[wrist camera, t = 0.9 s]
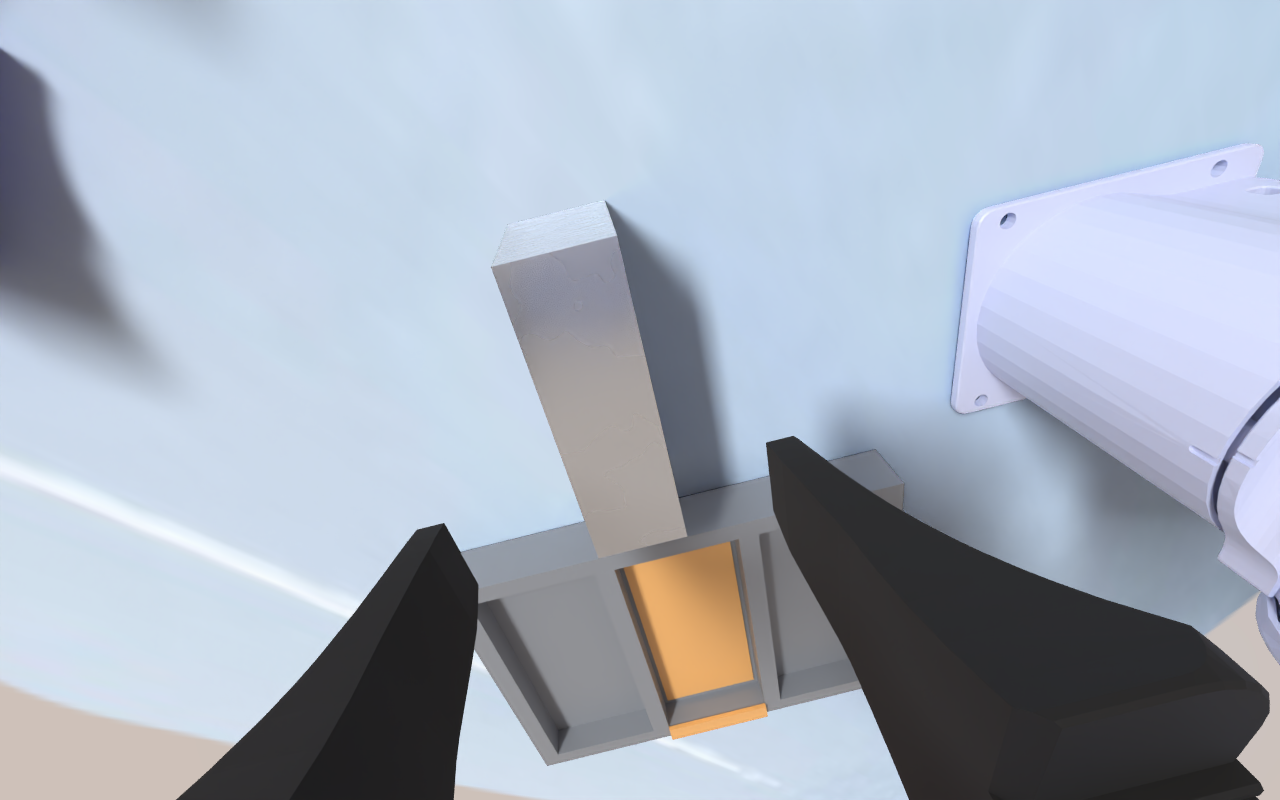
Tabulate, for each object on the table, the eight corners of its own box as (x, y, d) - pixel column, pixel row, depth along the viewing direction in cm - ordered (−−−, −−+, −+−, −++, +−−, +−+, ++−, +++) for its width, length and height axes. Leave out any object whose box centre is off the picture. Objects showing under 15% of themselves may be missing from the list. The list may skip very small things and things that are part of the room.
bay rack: (875, 449, 22) (907, 486, 20) (870, 643, 30) (893, 685, 27) (452, 554, 22) (441, 601, 20) (548, 722, 30) (547, 770, 28)
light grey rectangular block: (604, 198, 16) (617, 235, 12) (665, 454, 21) (687, 536, 18) (508, 223, 16) (491, 267, 12) (592, 473, 21) (598, 558, 18)
